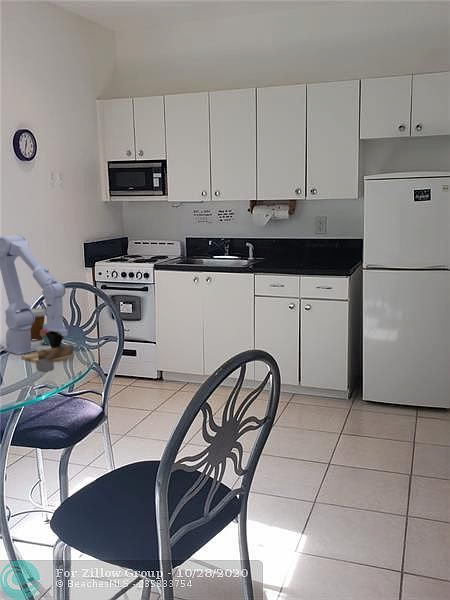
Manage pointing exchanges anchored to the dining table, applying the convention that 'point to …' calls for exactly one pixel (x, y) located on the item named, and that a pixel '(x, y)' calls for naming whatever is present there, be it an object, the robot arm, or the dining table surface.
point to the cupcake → (44, 335)
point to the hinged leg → (55, 352)
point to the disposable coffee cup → (37, 323)
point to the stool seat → (34, 357)
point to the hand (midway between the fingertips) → (55, 351)
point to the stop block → (44, 365)
